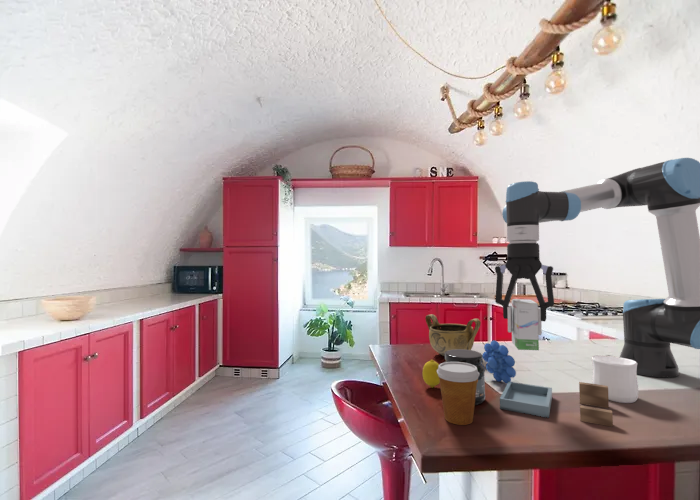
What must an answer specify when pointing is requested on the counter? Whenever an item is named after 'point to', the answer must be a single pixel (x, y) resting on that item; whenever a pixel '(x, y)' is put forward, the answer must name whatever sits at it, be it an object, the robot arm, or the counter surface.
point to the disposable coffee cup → (458, 391)
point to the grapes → (499, 362)
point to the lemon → (431, 373)
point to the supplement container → (474, 359)
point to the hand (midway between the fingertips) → (524, 332)
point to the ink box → (525, 324)
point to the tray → (527, 399)
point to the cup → (616, 377)
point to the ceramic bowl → (451, 335)
